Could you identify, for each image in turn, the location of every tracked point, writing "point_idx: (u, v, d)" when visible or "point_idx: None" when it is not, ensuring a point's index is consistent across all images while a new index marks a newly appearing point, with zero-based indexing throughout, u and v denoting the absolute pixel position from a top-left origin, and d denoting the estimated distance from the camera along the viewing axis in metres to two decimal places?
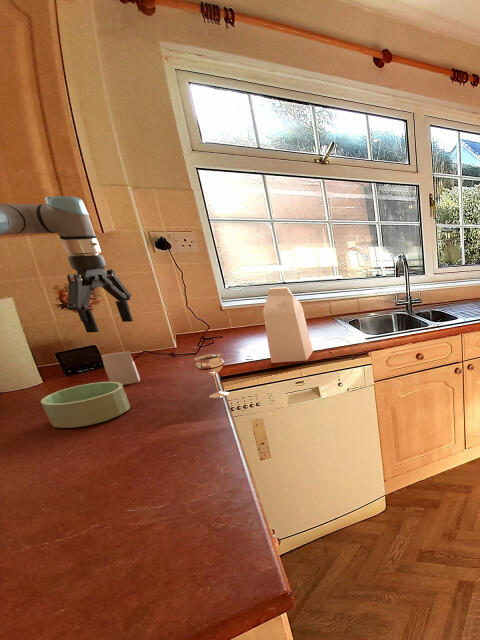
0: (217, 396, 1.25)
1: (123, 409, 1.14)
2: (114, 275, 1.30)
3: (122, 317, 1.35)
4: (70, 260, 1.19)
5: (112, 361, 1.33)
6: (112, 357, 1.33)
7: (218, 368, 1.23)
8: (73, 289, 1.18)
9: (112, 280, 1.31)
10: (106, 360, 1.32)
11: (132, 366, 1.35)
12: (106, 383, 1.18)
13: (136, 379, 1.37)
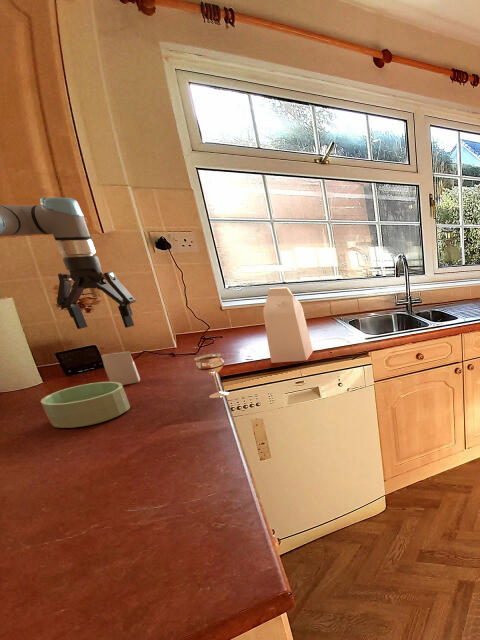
0: (217, 396, 1.25)
1: (123, 409, 1.14)
2: None
3: (79, 323, 1.28)
4: (89, 260, 1.22)
5: (112, 361, 1.33)
6: (111, 357, 1.33)
7: (218, 368, 1.23)
8: (119, 285, 1.26)
9: (67, 284, 1.25)
10: (106, 360, 1.32)
11: (132, 366, 1.35)
12: (106, 383, 1.18)
13: (136, 379, 1.37)
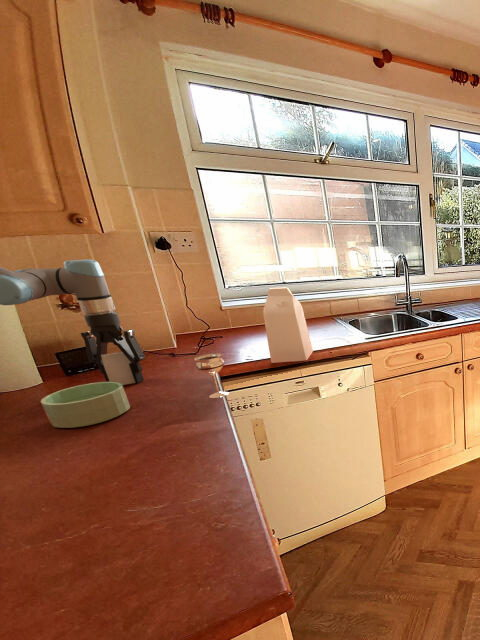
0: (217, 396, 1.25)
1: (123, 409, 1.14)
2: None
3: None
4: (109, 317, 1.28)
5: (112, 361, 1.33)
6: (111, 357, 1.33)
7: (218, 368, 1.23)
8: (135, 343, 1.33)
9: (92, 341, 1.32)
10: (106, 360, 1.32)
11: None
12: (106, 383, 1.18)
13: None
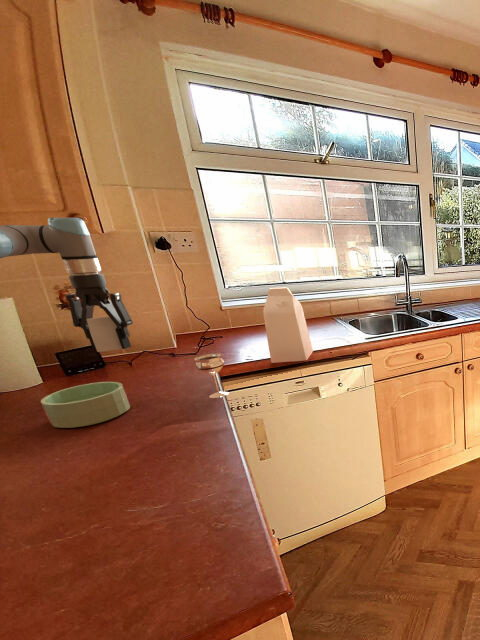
0: (217, 396, 1.25)
1: (123, 409, 1.14)
2: None
3: None
4: (95, 278, 1.24)
5: (97, 325, 1.28)
6: (97, 321, 1.29)
7: (218, 368, 1.23)
8: (121, 307, 1.29)
9: (77, 304, 1.27)
10: (92, 324, 1.28)
11: None
12: (106, 383, 1.18)
13: None
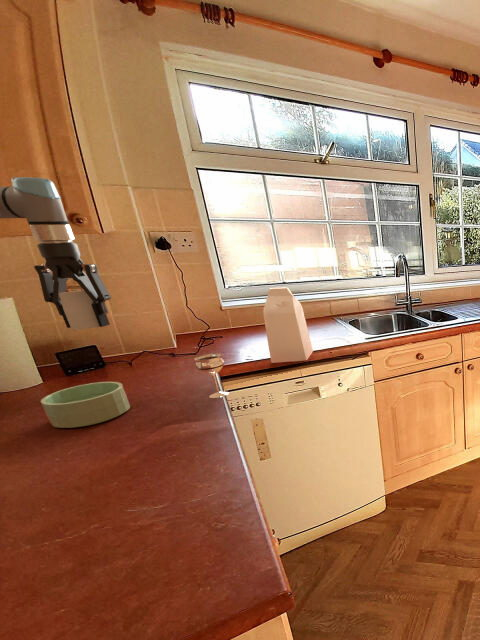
0: (217, 396, 1.25)
1: (123, 409, 1.14)
2: None
3: None
4: (67, 247, 1.11)
5: (71, 300, 1.16)
6: (71, 295, 1.16)
7: (218, 368, 1.23)
8: (98, 280, 1.16)
9: (48, 277, 1.15)
10: (65, 299, 1.16)
11: None
12: (106, 383, 1.18)
13: None
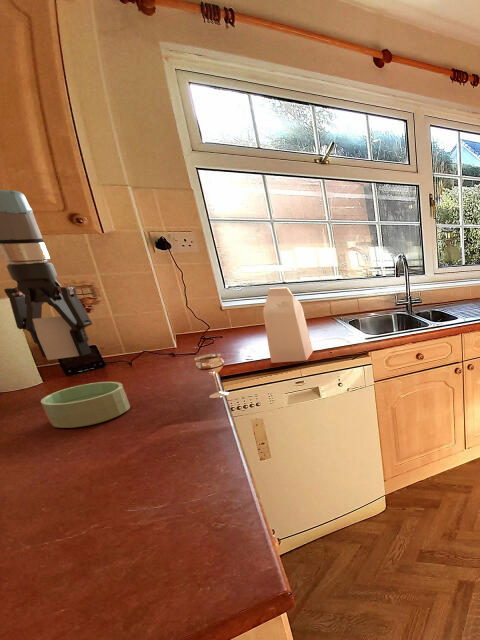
0: (217, 396, 1.25)
1: (123, 409, 1.14)
2: None
3: None
4: (40, 268, 0.98)
5: (47, 326, 1.03)
6: (47, 322, 1.03)
7: (218, 368, 1.23)
8: (76, 304, 1.03)
9: (21, 301, 1.02)
10: (39, 325, 1.03)
11: None
12: (106, 383, 1.18)
13: None
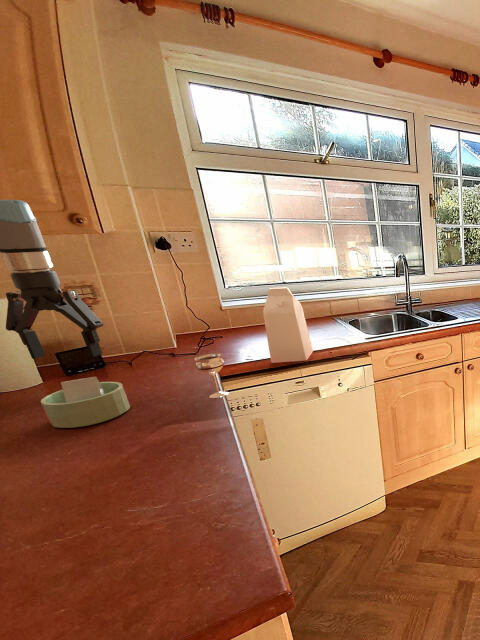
0: (217, 396, 1.25)
1: (123, 409, 1.14)
2: None
3: (34, 352, 1.06)
4: (44, 276, 0.99)
5: (74, 389, 1.09)
6: (74, 384, 1.09)
7: (218, 368, 1.23)
8: (82, 306, 1.04)
9: (19, 305, 1.02)
10: (67, 388, 1.09)
11: (100, 395, 1.12)
12: (106, 383, 1.18)
13: None
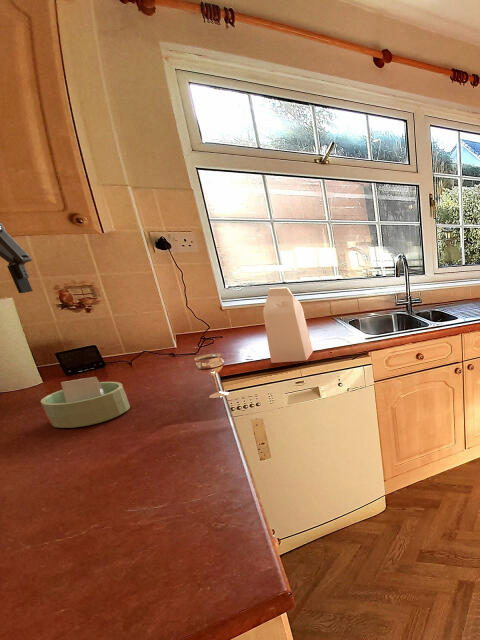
0: (217, 396, 1.25)
1: (123, 409, 1.14)
2: None
3: None
4: None
5: (74, 389, 1.09)
6: (74, 384, 1.09)
7: (218, 368, 1.23)
8: (8, 239, 1.00)
9: None
10: (67, 388, 1.09)
11: (100, 395, 1.12)
12: (106, 383, 1.18)
13: None
